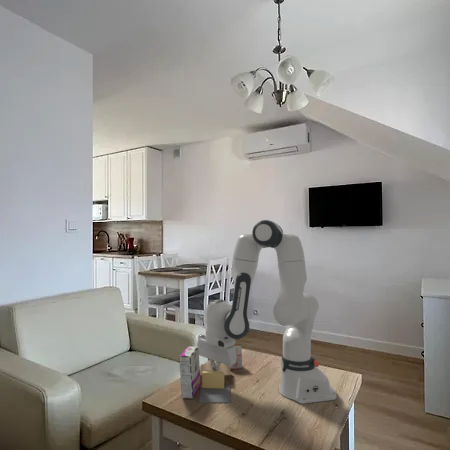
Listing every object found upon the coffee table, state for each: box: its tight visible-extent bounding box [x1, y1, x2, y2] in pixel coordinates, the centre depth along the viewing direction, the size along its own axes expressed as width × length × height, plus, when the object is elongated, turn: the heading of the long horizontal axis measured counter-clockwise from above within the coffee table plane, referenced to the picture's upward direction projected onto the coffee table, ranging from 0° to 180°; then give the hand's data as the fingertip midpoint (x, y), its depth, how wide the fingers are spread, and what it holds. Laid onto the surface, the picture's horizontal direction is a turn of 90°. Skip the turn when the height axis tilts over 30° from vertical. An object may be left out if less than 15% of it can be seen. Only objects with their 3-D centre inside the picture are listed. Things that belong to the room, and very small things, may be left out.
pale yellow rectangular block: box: [202, 371, 224, 389], centre depth 134 cm, size 9×6×2 cm
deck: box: [200, 363, 232, 386], centre depth 143 cm, size 13×11×4 cm
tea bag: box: [230, 345, 243, 370], centre depth 155 cm, size 4×7×10 cm, turn 99°
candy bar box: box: [178, 345, 201, 400], centre depth 131 cm, size 11×5×16 cm, turn 168°
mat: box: [198, 384, 232, 404], centre depth 130 cm, size 12×14×1 cm
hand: (215, 370), depth 140 cm, fingers closed
